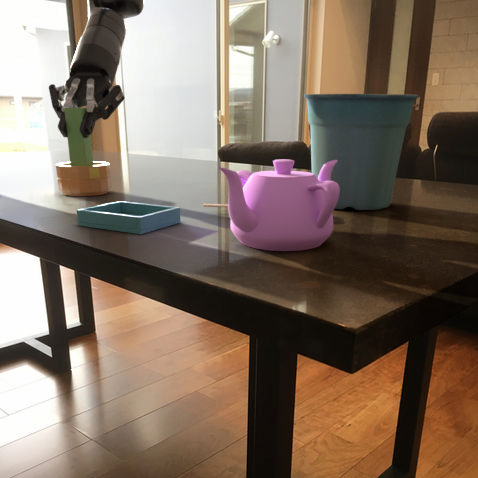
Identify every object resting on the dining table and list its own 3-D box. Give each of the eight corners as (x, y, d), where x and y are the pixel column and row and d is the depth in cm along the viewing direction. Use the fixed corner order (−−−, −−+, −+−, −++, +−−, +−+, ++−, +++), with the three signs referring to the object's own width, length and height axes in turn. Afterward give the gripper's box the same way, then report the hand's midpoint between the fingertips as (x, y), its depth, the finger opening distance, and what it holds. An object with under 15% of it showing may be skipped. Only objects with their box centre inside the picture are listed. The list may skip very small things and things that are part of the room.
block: (71, 175, 90) (64, 107, 86) (78, 173, 93) (72, 107, 89) (87, 176, 90) (81, 108, 86) (94, 174, 93) (88, 107, 89)
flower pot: (418, 214, 74) (434, 92, 68) (303, 213, 75) (310, 91, 69) (390, 197, 89) (401, 95, 83) (295, 196, 90) (299, 95, 84)
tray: (77, 225, 66) (76, 209, 65) (121, 215, 73) (120, 200, 72) (140, 234, 62) (139, 217, 61) (180, 222, 68) (180, 207, 67)
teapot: (219, 253, 53) (218, 164, 50) (238, 226, 66) (238, 154, 63) (336, 258, 52) (342, 166, 49) (332, 229, 65) (337, 155, 61)
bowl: (48, 194, 91) (44, 164, 89) (85, 188, 98) (82, 160, 96) (86, 198, 87) (83, 167, 85) (122, 191, 94) (120, 163, 92)
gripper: (51, 41, 91) (24, 116, 85) (127, 41, 89) (105, 118, 83) (68, 77, 98) (44, 148, 91) (139, 77, 96) (120, 150, 89)
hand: (73, 133), depth 87 cm, fingers closed on block, 3 cm apart
